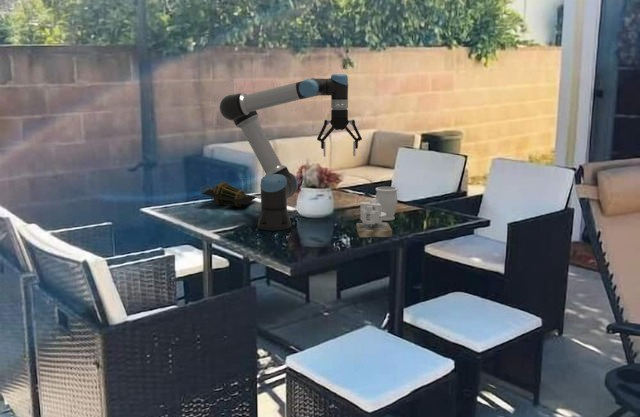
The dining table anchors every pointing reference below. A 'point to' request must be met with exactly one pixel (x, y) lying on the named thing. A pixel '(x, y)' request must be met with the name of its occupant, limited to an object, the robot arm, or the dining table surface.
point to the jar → (387, 201)
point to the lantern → (228, 195)
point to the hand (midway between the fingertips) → (339, 156)
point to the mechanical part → (371, 212)
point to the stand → (374, 230)
